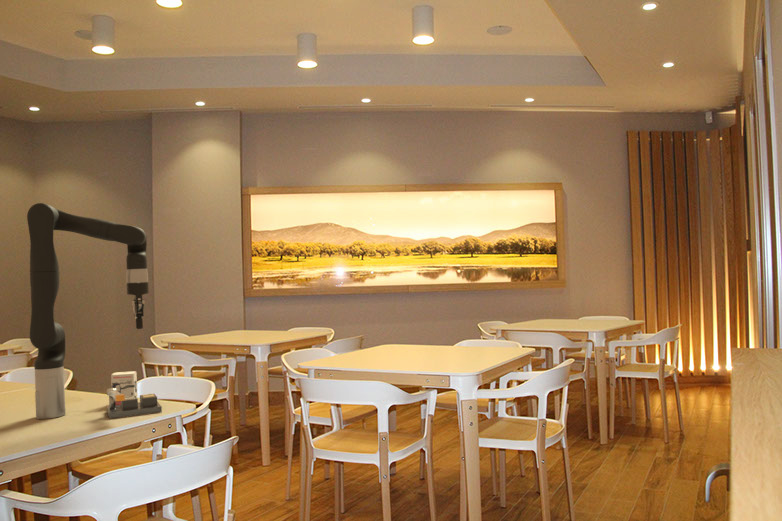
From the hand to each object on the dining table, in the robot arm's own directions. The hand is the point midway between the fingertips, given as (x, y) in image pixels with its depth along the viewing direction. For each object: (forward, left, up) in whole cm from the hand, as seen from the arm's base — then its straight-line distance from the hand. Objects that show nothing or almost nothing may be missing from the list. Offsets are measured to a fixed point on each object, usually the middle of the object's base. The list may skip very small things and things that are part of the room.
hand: (139, 328), depth 246 cm
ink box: (-5, +14, -29) cm, 33 cm away
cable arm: (-10, -13, -22) cm, 27 cm away
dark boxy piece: (-3, -6, -29) cm, 30 cm away
